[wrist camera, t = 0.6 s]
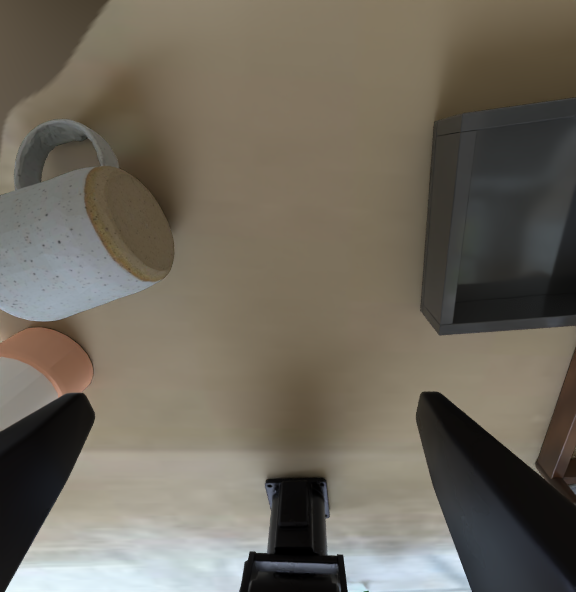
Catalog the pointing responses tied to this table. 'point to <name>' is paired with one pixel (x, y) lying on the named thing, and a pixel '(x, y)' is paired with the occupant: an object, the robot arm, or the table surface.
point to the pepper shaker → (39, 372)
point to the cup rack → (561, 440)
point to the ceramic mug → (76, 231)
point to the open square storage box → (502, 220)
